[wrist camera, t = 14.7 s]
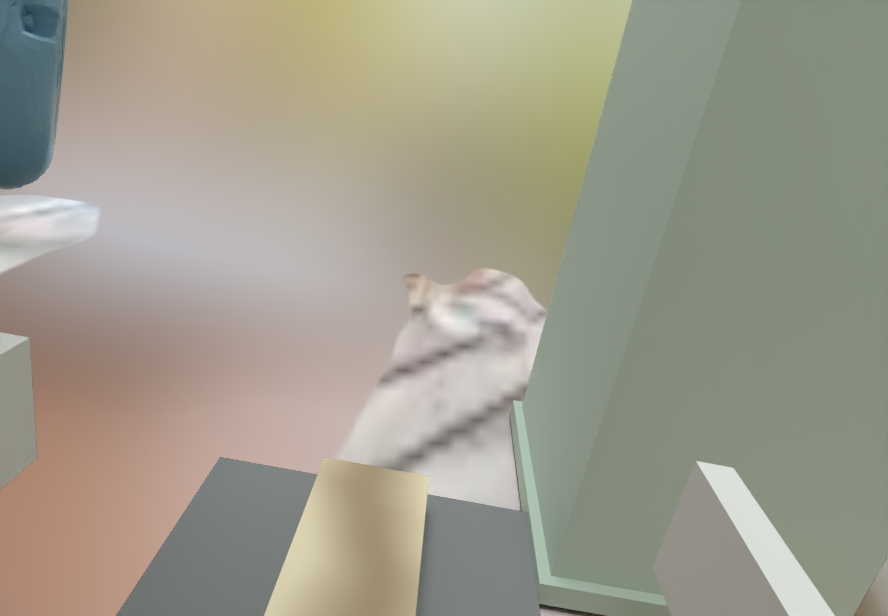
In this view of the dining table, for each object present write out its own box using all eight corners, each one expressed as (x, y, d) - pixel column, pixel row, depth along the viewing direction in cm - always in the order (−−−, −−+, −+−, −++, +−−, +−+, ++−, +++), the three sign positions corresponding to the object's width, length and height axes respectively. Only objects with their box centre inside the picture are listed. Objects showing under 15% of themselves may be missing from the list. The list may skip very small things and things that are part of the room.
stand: (533, 602, 23) (878, -461, 12) (509, 414, 36) (667, -184, 26) (854, 659, 24) (1455, -323, 13) (716, 452, 37) (957, -120, 26)
